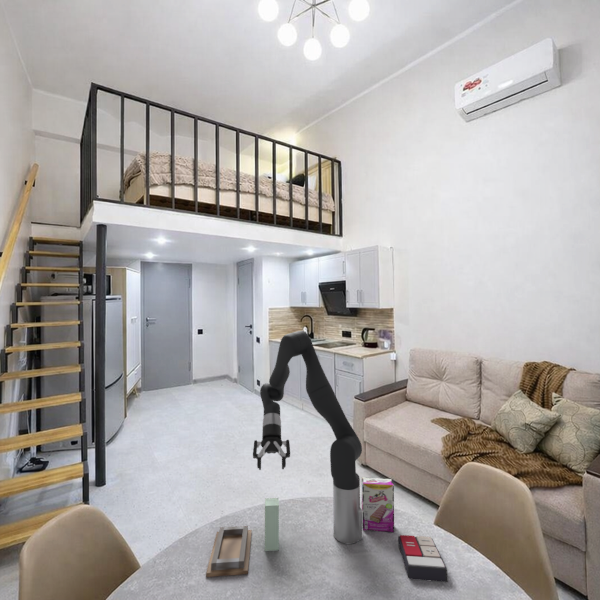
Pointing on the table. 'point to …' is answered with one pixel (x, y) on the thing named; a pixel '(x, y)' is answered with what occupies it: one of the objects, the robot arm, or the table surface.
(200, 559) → the table surface
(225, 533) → the track
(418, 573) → the calculator
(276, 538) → the pale green angular block
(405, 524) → the table surface
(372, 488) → the candy bar box
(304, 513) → the table surface
